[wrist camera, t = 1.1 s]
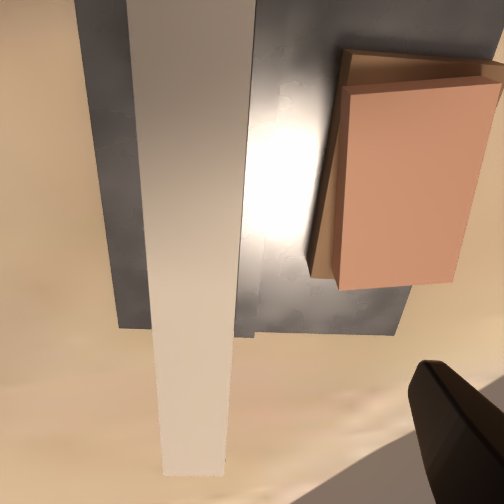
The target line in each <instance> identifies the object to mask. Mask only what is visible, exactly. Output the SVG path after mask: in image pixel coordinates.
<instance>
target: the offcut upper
mask: <svg viewBox="0 0 504 504" xmlns="http://www.w3.org/2000/svg"><path fill="white" fill-rule="evenodd" d="M501 85H502V83H500V82H497V81H495V80H492V79H489V78H487V77H484V76H469V77H456V78H444V79H431V80H418V81H405V82H393V83H380V84H367V85H354V86H342V94H341V115H340V135H339V155H338V176H337V196H336V216H335V236H334V257H333V275H334V278H335V281H336V284H337V287H338V290H339V291H344V290H357V289H370V288H384V287H397V286H410V285H423V284H436V283H449V282H453V278H454V274H455V270H456V266H457V262H458V258H459V254H460V250H461V246H462V242H463V238H464V234H465V230H466V226H467V222H468V218H469V214H470V210H471V206H472V202H473V198H474V194H475V190H476V186H477V182H478V178H479V174H480V169H481V165H482V161H483V157H484V153H485V149H486V145H487V141H488V137H489V133H490V129H491V125H492V121H493V117H494V113H495V109H496V105H497V101H498V97H499V93H500V89H501Z"/></svg>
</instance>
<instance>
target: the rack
mask: <svg viewBox="0 0 504 504" xmlns="http://www.w3.org/2000/svg"><path fill="white" fill-rule="evenodd" d="M74 2H75V10H76V17H77V24H78V31H79V39H80V46H81V53H82V61H83V68H84V75H85V83H86V90H87V97H88V105H89V112H90V119H91V127H92V134H93V141H94V149H95V156H96V163H97V171H98V178H99V185H100V193H101V200H102V207H103V215H104V222H105V229H106V236H107V244H108V251H109V258H110V266H111V273H112V280H113V288H114V295H115V302H116V310H117V317H118V324H119V328H127V329H152V322H151V310H150V297H149V284H148V271H147V259H146V246H145V233H144V220H143V207H142V195H141V182H140V169H139V156H138V144H137V131H136V118H135V105H134V92H133V80H132V67H131V54H130V41H129V29H128V16H127V3H126V0H74ZM503 28H504V0H256V5H255V20H254V35H253V50H252V65H251V79H250V94H249V109H248V124H247V139H246V154H245V169H244V184H243V199H242V214H241V229H240V244H239V259H238V274H237V289H236V304H235V319H234V337H244V338H254V333H255V332H276V333H314V334H351V335H388V336H394V335H395V332H396V329H397V327H398V324H399V321H400V318H401V315H402V313H403V310H404V307H405V304H406V301H407V299H408V296H409V293H410V290H411V287H412V285H410V286H397V287H384V288H370V289H357V290H344V291H339V290H338V287H337V284H336V281H335V279H312V278H310V274H309V270H308V266H307V257H308V251H309V245H310V239H311V234H312V228H313V222H314V216H315V211H316V205H317V199H318V194H319V188H320V182H321V176H322V171H323V165H324V159H325V154H326V148H327V142H328V136H329V131H330V125H331V119H332V114H333V108H334V102H335V96H336V91H337V85H338V79H339V74H340V68H341V62H342V56H343V51H344V49H350V50H363V51H376V52H389V53H402V54H415V55H428V56H441V57H454V58H467V59H480V60H492V59H493V57H494V54H495V51H496V48H497V45H498V42H499V40H500V37H501V34H502V31H503Z"/></svg>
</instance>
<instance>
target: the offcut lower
mask: <svg viewBox="0 0 504 504" xmlns="http://www.w3.org/2000/svg"><path fill="white" fill-rule="evenodd" d="M469 76H484V77H487V78H489V79H492V80H495V81H497V82H500V83H502V85H501V89H500V93H499V97H498V101H497V104H498V102H499V99H500V96H501V94H502V91H503V89H504V64H502V63H499V62H496V61H492V60H480V59H467V58H454V57H441V56H428V55H415V54H402V53H389V52H376V51H363V50H350V49H344V51H343V56H342V62H341V68H340V74H339V79H338V85H337V91H336V96H335V102H334V108H333V114H332V119H331V125H330V131H329V136H328V142H327V148H326V154H325V159H324V165H323V171H322V176H321V182H320V188H319V194H318V199H317V205H316V211H315V216H314V222H313V228H312V234H311V239H310V245H309V251H308V257H307V266H308V270H309V274H310V278H312V279H335V278H334V275H333V257H334V236H335V216H336V196H337V176H338V155H339V135H340V115H341V94H342V86H354V85H367V84H380V83H393V82H405V81H418V80H431V79H444V78H456V77H469ZM496 107H497V105H496ZM495 110H496V109H495Z"/></svg>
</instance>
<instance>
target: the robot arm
mask: <svg viewBox="0 0 504 504" xmlns="http://www.w3.org/2000/svg"><path fill="white" fill-rule="evenodd" d="M408 399H409V403H410V408H411V412H412V416H413V421H414V425H415V429H416V434H417V438H418V442H419V447H420V451H421V455H422V460H423V464H424V467H425V471H426V475H427V478H428V481H429V484H430V487H431V490H432V493H433V496H434V499H435V502H436V504H504V413H503V412H502V411H501V410H500V409H499V408H497V407H496V406H495V405H494V404H493V403H492V402H490V401H489V400H488V399H487V398H486V397H484V396H483V395H482V394H481V393H480V392H479V391H477V390H476V389H475V388H474V387H473V386H471V385H470V384H469V383H468V382H467V381H466V380H464V379H463V378H462V377H461V376H460V375H458V374H457V373H456V372H455V371H454V370H452V369H451V368H450V367H449V366H448V365H447V364H445V363H444V362H442V361H436V360H423V361H421V362H420V363H419V364H418V366H417V368H416V371H415V373H414V375H413V377H412V380H411V382H410V384H409V387H408Z"/></svg>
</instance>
